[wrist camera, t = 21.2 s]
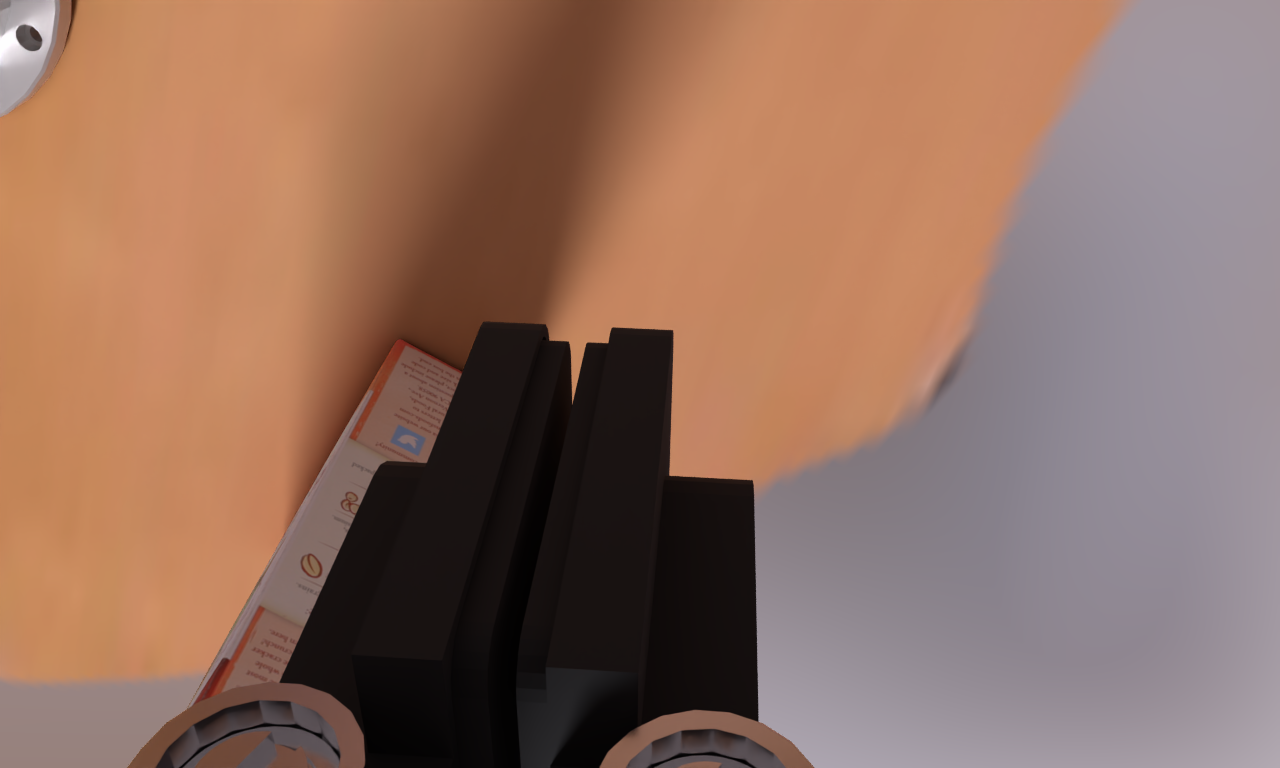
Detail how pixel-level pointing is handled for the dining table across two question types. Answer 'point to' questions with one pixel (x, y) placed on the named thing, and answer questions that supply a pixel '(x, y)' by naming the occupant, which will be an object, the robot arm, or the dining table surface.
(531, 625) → the robot arm
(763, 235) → the dining table surface
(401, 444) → the cracker box
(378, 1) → the dining table surface
